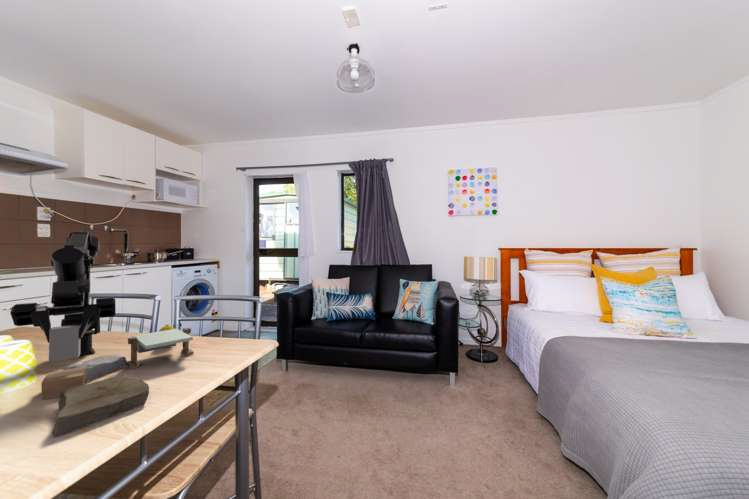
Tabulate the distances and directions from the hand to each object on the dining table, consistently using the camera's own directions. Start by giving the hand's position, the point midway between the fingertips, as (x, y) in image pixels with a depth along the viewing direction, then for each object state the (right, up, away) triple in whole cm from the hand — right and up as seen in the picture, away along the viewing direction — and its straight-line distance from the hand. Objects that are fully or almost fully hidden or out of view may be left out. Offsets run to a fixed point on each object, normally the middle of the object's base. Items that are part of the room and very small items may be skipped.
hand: (64, 339), depth 75 cm
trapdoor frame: (+8, -13, +22) cm, 27 cm away
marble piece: (+15, -13, -7) cm, 21 cm away
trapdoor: (+9, -10, +22) cm, 25 cm away
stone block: (-4, -13, +12) cm, 19 cm away
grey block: (-1, -5, +1) cm, 5 cm away
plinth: (-1, -13, +1) cm, 13 cm away
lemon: (+2, -13, +34) cm, 37 cm away
